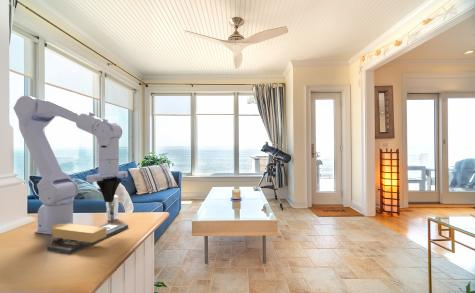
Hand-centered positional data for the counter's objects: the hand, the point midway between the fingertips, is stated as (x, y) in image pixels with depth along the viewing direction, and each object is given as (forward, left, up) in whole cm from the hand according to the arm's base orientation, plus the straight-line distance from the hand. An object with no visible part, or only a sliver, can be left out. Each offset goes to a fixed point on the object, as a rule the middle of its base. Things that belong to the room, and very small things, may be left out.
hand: (108, 201), depth 75 cm
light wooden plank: (0, -11, -7) cm, 13 cm away
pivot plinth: (-7, -11, -9) cm, 16 cm away
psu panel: (0, -6, -9) cm, 11 cm away
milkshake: (-8, +10, -10) cm, 16 cm away
